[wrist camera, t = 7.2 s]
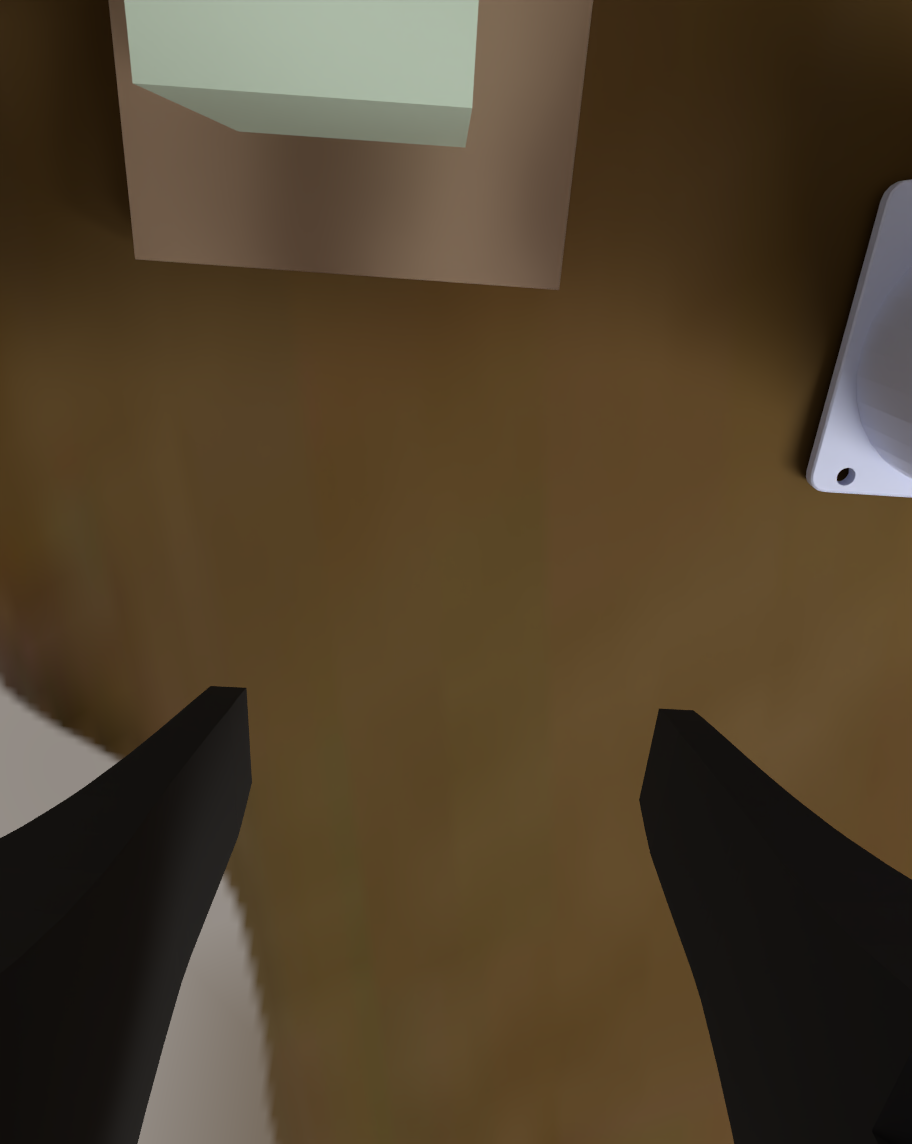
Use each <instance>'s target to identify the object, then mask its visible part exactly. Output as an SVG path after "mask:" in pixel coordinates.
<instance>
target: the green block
mask: <svg viewBox="0 0 912 1144" xmlns="http://www.w3.org/2000/svg"><path fill="white" fill-rule="evenodd" d="M124 3H125V13H126V23H127V33H128V43H129V52H130V62H131V72H132V82H133V84H135V85H137V86H140V87H142V88H144V89H146V90H148V91H151V92H153V93H155V94H157V95H159V96H162V97H164V98H166V99H168V100H170V101H173V102H175V103H177V104H179V105H181V106H184V107H186V108H188V109H190V110H192V111H195V112H197V113H199V114H201V115H203V116H206V117H208V118H210V119H212V120H214V121H217V122H219V123H221V124H223V125H225V126H228V127H230V128H232V129H234V130H236V131H239V132H253V133H267V134H281V135H295V136H309V137H323V138H337V139H351V140H365V141H380V142H394V143H408V144H422V145H436V146H450V147H464V148H465V146H466V141H467V135H468V129H469V124H470V118H471V112H472V103H473V87H474V70H475V54H476V37H477V21H478V4H479V0H124Z"/></svg>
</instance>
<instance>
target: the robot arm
mask: <svg viewBox="0 0 912 1144" xmlns="http://www.w3.org/2000/svg"><path fill="white" fill-rule="evenodd" d="M844 468H849V473H848V475H847V477H846V478H845V479H843V480H842V481H837V475H838V473H839V472H840V471H841V470H843V469H844ZM806 479H807V481H808V483H809V484H810V485H811V486H812V487H814V488H815V489H816V490H819V491H822V492H834V493H850V494H866V495H881V496H897V497H912V180H904V181H898V182H896V183H894V184H893V185H891V186H890V187H889V188H888V189H887V190H886V191H885V192H884V194H883V197H882V199H881V201H880V204H879V208H878V212H877V215H876V219H875V223H874V226H873V230H872V234H871V237H870V241H869V245H868V248H867V252H866V256H865V259H864V263H863V266H862V270H861V274H860V277H859V281H858V285H857V288H856V292H855V296H854V299H853V303H852V307H851V310H850V314H849V318H848V321H847V325H846V328H845V332H844V336H843V339H842V343H841V347H840V350H839V354H838V358H837V361H836V365H835V369H834V372H833V376H832V380H831V383H830V387H829V390H828V394H827V398H826V401H825V405H824V409H823V412H822V416H821V420H820V423H819V427H818V431H817V434H816V438H815V441H814V445H813V449H812V452H811V456H810V460H809V463H808V467H807V471H806ZM251 784H252V777H251V760H250V743H249V726H248V709H247V692H246V688H237V687H217V686H210V687H209V688H208V689H207V690H205V691H204V692H203V693H202V694H201V695H199V696H198V697H197V698H196V699H195V700H193V701H192V702H191V703H190V704H189V705H187V706H186V707H185V708H184V709H183V710H182V711H180V712H179V713H178V714H177V715H176V716H175V717H173V718H172V719H171V720H170V721H169V722H168V723H166V724H165V725H164V726H163V727H162V728H160V729H159V730H158V731H157V732H156V733H154V734H153V735H152V736H151V737H150V738H148V739H147V740H146V741H145V742H143V743H142V744H141V745H140V746H139V747H137V748H136V749H135V750H134V751H132V752H131V753H130V754H129V755H127V756H126V757H125V758H123V759H122V760H121V761H119V762H118V763H117V764H115V765H114V766H112V767H111V768H110V769H108V770H107V771H106V772H104V773H103V774H102V775H100V776H99V777H98V778H96V779H95V780H94V781H92V782H91V783H89V784H88V785H87V786H85V787H84V788H82V789H81V790H79V791H78V792H77V793H75V794H74V795H72V796H71V797H69V798H68V799H66V800H64V801H63V802H61V803H60V804H58V805H57V806H55V807H53V808H52V809H50V810H49V811H47V812H45V813H44V814H42V815H40V816H39V817H37V818H35V819H34V820H32V821H31V822H29V823H27V824H25V825H24V826H22V827H20V828H19V829H17V830H15V831H13V832H11V833H9V834H7V835H6V836H4V837H2V838H0V1144H137V1143H138V1139H139V1135H140V1131H141V1127H142V1123H143V1119H144V1115H145V1112H146V1108H147V1104H148V1100H149V1096H150V1093H151V1090H152V1086H153V1082H154V1078H155V1074H156V1071H157V1067H158V1064H159V1060H160V1056H161V1053H162V1049H163V1045H164V1042H165V1038H166V1035H167V1031H168V1027H169V1024H170V1021H171V1017H172V1013H173V1010H174V1007H175V1003H176V1000H177V996H178V993H179V990H180V986H181V982H182V980H183V977H184V974H185V971H186V968H187V966H188V963H189V960H190V957H191V954H192V952H193V949H194V947H195V944H196V942H197V939H198V936H199V934H200V932H201V929H202V927H203V924H204V921H205V919H206V916H207V914H208V911H209V909H210V906H211V904H212V901H213V899H214V896H215V894H216V891H217V889H218V886H219V884H220V881H221V879H222V876H223V874H224V871H225V869H226V866H227V863H228V861H229V858H230V856H231V853H232V851H233V848H234V845H235V843H236V840H237V838H238V835H239V831H240V827H241V823H242V820H243V816H244V812H245V808H246V804H247V800H248V796H249V792H250V788H251ZM639 801H640V806H641V811H642V817H643V822H644V827H645V832H646V836H647V840H648V845H649V849H650V854H651V857H652V860H653V863H654V866H655V868H656V871H657V874H658V877H659V880H660V883H661V886H662V889H663V891H664V894H665V897H666V900H667V903H668V906H669V908H670V911H671V914H672V917H673V920H674V922H675V925H676V928H677V931H678V934H679V936H680V939H681V942H682V945H683V948H684V950H685V953H686V956H687V959H688V962H689V964H690V967H691V970H692V973H693V976H694V979H695V983H696V986H697V989H698V992H699V995H700V999H701V1002H702V1006H703V1010H704V1014H705V1018H706V1022H707V1026H708V1030H709V1034H710V1038H711V1042H712V1047H713V1051H714V1055H715V1059H716V1063H717V1067H718V1072H719V1076H720V1081H721V1085H722V1089H723V1094H724V1098H725V1103H726V1107H727V1112H728V1116H729V1121H730V1125H731V1129H732V1134H733V1139H734V1144H912V880H911V879H910V878H908V877H906V876H905V875H903V874H902V873H900V872H898V871H897V870H895V869H893V868H892V867H890V866H889V865H887V864H886V863H884V862H883V861H881V860H880V859H878V858H877V857H875V856H874V855H872V854H871V853H869V852H868V851H866V850H865V849H863V848H862V847H860V846H859V845H857V844H856V843H854V842H853V841H851V840H850V839H848V838H847V837H846V836H844V835H843V834H841V833H840V832H839V831H837V830H836V829H834V828H833V827H832V826H830V825H829V824H828V823H826V822H825V821H824V820H823V819H821V818H820V817H819V816H817V815H816V814H815V813H813V812H812V811H811V810H810V809H808V808H807V807H806V806H804V805H803V804H802V803H801V802H799V801H798V800H797V799H796V798H794V797H793V796H792V795H791V794H789V793H788V792H787V791H786V790H785V789H783V788H782V787H781V786H780V785H779V784H777V783H776V782H775V781H774V780H773V779H771V778H770V777H769V776H768V775H767V774H766V773H764V772H763V771H762V770H761V769H760V768H759V767H758V766H756V765H755V764H754V763H753V762H752V761H751V760H750V759H748V758H747V757H746V756H745V755H744V754H743V753H742V752H741V751H739V750H738V749H737V748H736V747H735V746H734V745H733V744H732V743H731V742H729V741H728V740H727V739H726V738H725V737H724V736H723V735H722V734H720V733H719V732H718V731H717V730H716V729H715V728H714V727H713V726H711V725H710V724H709V723H708V722H707V721H706V720H705V719H703V718H702V717H701V716H700V715H698V714H697V713H696V712H695V711H693V710H674V709H659V712H658V716H657V721H656V725H655V730H654V735H653V739H652V744H651V748H650V753H649V758H648V762H647V767H646V771H645V776H644V781H643V785H642V790H641V794H640V799H639Z"/></svg>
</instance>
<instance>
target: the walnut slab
mask: <svg viewBox="0 0 912 1144" xmlns="http://www.w3.org/2000/svg"><path fill="white" fill-rule="evenodd" d="M108 1H109V11H110V20H111V30H112V40H113V49H114V59H115V69H116V78H117V88H118V98H119V107H120V117H121V127H122V136H123V146H124V156H125V165H126V175H127V185H128V194H129V204H130V214H131V223H132V233H133V243H134V252H135V259H139V260H153V261H167V262H181V263H194V264H208V265H222V266H236V267H250V268H264V269H277V270H291V271H305V272H319V273H333V274H346V275H360V276H374V277H388V278H402V279H416V280H429V281H443V282H457V283H471V284H485V285H499V286H512V287H526V288H540V289H554V290H559V286H560V277H561V269H562V260H563V252H564V243H565V235H566V226H567V218H568V209H569V201H570V192H571V184H572V176H573V167H574V159H575V150H576V142H577V133H578V125H579V116H580V108H581V99H582V91H583V82H584V74H585V65H586V57H587V48H588V40H589V31H590V23H591V14H592V6H593V0H479V4H478V21H477V37H476V54H475V70H474V87H473V103H472V112H471V118H470V124H469V129H468V135H467V141H466V146H465V148H464V147H450V146H436V145H422V144H408V143H394V142H380V141H365V140H351V139H337V138H323V137H309V136H295V135H281V134H267V133H253V132H239V131H236V130H234V129H232V128H230V127H228V126H225V125H223V124H221V123H219V122H217V121H214V120H212V119H210V118H208V117H206V116H203V115H201V114H199V113H197V112H195V111H192V110H190V109H188V108H186V107H184V106H181V105H179V104H177V103H175V102H173V101H170V100H168V99H166V98H164V97H162V96H159V95H157V94H155V93H153V92H151V91H148V90H146V89H144V88H142V87H140V86H137V85H135V84H133V82H132V72H131V62H130V52H129V43H128V33H127V23H126V13H125V3H124V0H108Z"/></svg>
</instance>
